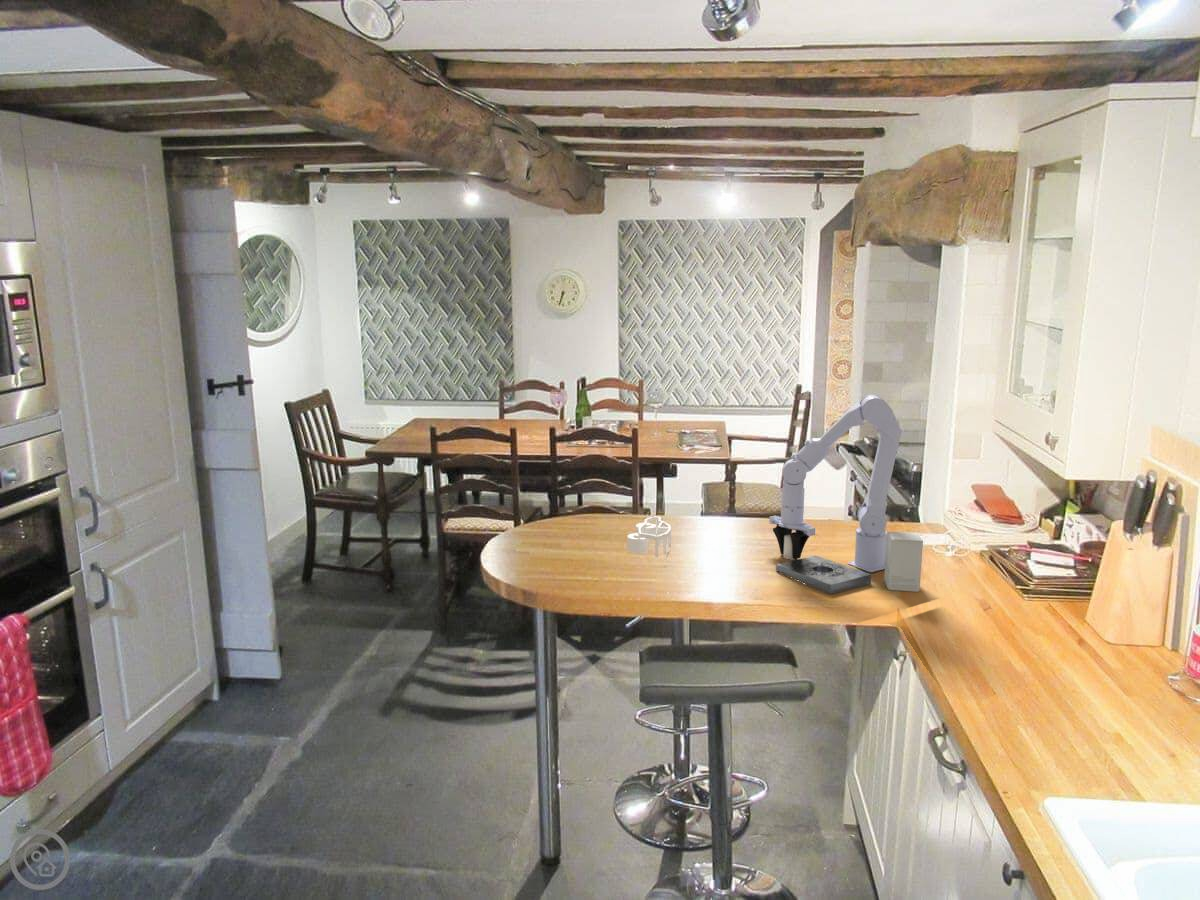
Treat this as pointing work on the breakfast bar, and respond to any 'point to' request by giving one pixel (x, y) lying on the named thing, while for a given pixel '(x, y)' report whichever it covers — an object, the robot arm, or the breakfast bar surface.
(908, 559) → the supplement box
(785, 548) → the peg
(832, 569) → the socket plate
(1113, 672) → the breakfast bar surface
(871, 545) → the robot arm
